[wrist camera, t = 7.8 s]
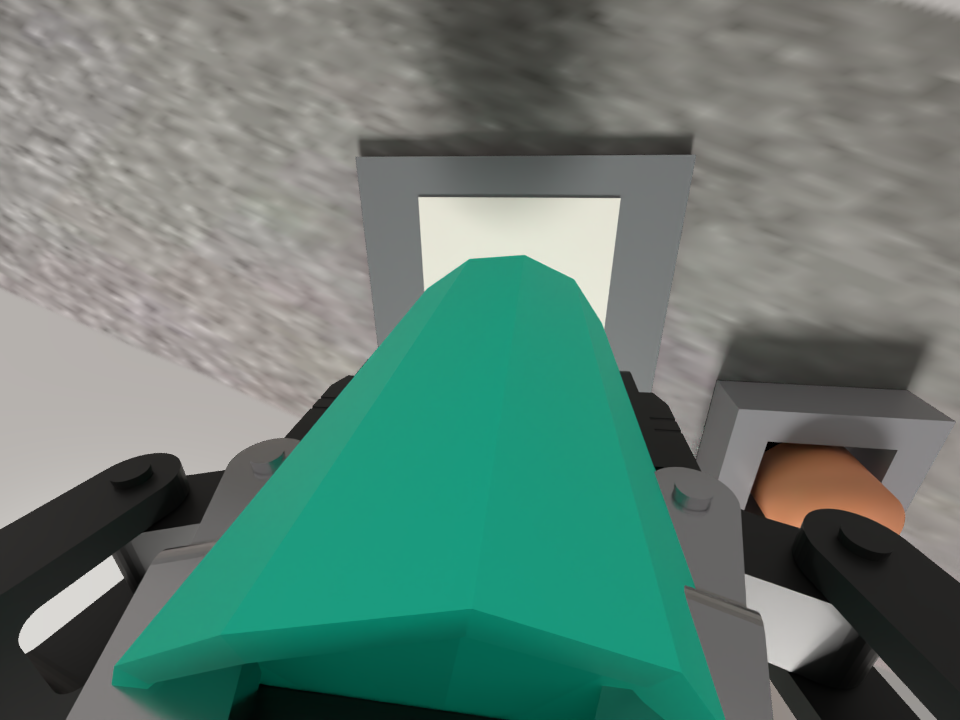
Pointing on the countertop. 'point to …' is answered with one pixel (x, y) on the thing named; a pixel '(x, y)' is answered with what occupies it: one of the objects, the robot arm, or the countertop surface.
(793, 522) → the button
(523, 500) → the candle
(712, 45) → the countertop surface
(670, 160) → the grey flat plate
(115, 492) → the robot arm
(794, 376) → the countertop surface
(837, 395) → the button box
